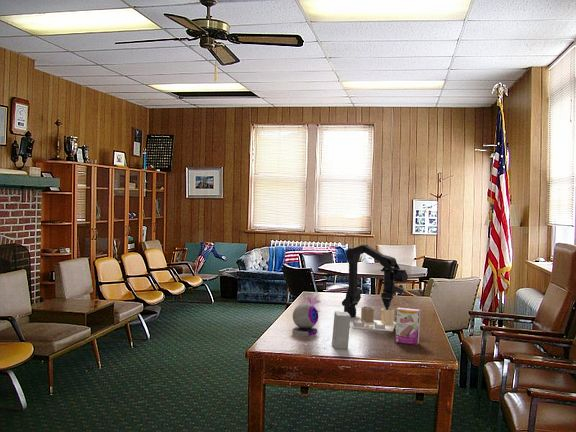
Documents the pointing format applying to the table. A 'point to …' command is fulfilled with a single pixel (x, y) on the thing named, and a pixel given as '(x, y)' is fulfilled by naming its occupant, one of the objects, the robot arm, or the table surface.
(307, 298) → the lily
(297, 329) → the eyeball
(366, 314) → the board
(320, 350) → the table surface
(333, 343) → the skincare box
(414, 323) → the candy bar box
